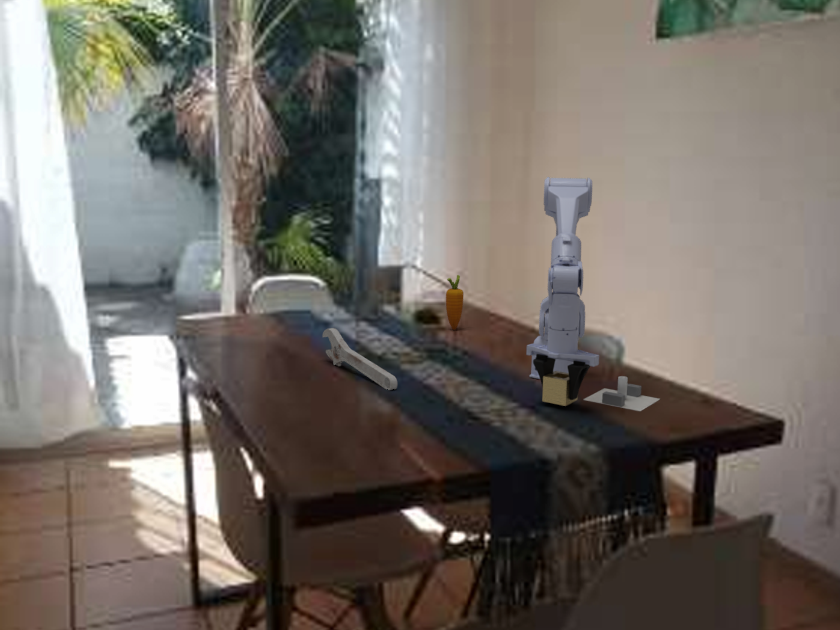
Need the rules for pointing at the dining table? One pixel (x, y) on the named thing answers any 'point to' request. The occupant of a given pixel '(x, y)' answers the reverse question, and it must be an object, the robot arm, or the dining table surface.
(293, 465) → the dining table surface
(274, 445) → the dining table surface
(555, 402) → the brass collar
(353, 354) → the wrench
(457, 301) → the carrot
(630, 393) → the block
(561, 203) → the robot arm
